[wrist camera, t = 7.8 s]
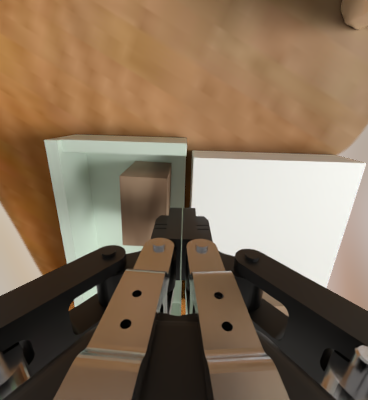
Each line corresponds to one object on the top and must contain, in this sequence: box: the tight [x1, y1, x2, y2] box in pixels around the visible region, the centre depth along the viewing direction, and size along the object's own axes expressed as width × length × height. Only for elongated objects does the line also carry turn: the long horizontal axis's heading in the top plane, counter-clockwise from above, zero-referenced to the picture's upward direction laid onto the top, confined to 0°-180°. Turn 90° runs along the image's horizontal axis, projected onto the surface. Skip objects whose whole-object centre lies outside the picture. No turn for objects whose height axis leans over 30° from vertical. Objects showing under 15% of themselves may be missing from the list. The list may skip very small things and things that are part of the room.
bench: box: [186, 150, 366, 314], centre depth 20 cm, size 16×12×4 cm
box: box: [44, 134, 187, 316], centre depth 19 cm, size 18×9×4 cm, turn 178°
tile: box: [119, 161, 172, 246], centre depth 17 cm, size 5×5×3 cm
